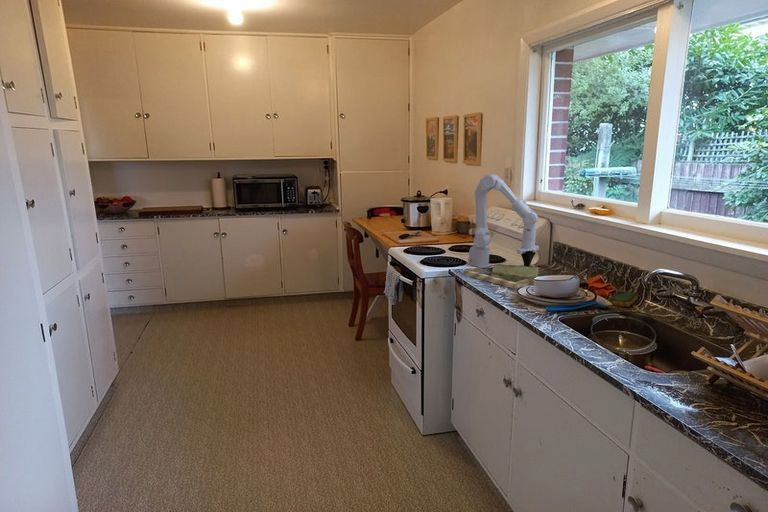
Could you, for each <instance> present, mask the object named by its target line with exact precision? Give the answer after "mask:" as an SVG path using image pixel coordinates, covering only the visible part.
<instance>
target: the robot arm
mask: <svg viewBox="0 0 768 512" xmlns="http://www.w3.org/2000/svg"><path fill="white" fill-rule="evenodd" d="M491 190H494V191H498V192H501V193H502V194H503V196H504V197H505V198H506V199H507V200H508V201H509V202H510V203H511V204H512V205H511V207H512V209H513V211H514V212H515V213H516V214H517V215H518V216H519V217H520V219H522V223H523V227H522V228H523V229H522V243H521V247H520V248H518V249H517V250H516V253H517V255H520V256H521V258H522V262H523V266H526V267H531V263H532V261H533V259H534V257H535V256H536V252H535V251H539V249H540V246H539V245H536V239H537V238H536V236H537V222H538V219H539V216H538V213H537V212H535V211H534V209H532V208H530V206H528V204H527V200H523V198H518V197H517V196H516V194H514V191H512V190H511V188H510V187H509V186H508V185H507V183H506V182H505V181H504V180H503V179H502V178H500V176H499V174H496V173H491V174H486V175H484V176H483V177H482V178H481V179H480V180H479V183H478V185H477V186H476V189H475V190H474V199H475V200H474V202H475V220H476V221H475V222H476V223H475V224H476V229H475V233H474V238H473V246H471V247H470V248H469V250H468V251H469V252H468V263H467V265H469V266H473V267H476V268H477V267H479V268H481V269H484V268H487V267H491V266H493V264H492V263H490V243H491V242H492V237H491V235H490V230H489V228H488V212H487V209H488V208H487V194H488V193H489V192H490V191H491Z"/></svg>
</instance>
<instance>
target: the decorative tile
mask: <svg viewBox="0 0 768 512" xmlns="http://www.w3.org/2000/svg"><path fill="white" fill-rule="evenodd" d="M491 270H492V271H491V275H490V276H492V277H496V278H500V279H503V280H507V281H511V282H518V281H521V280H524V279H528V280H529V283H531V284H532V283H533V280H534V278H536V277H538V278H539V267H534V266H530V267H526V266H524V265H513V264H502V263H496V264H494V265H493V268H492V269H491Z"/></svg>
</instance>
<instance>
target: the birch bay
mask: <svg viewBox="0 0 768 512" xmlns="http://www.w3.org/2000/svg"><path fill="white" fill-rule="evenodd" d="M481 271H482V268H481V267H477V266H476V267H473V268H470V269H465V270H464V271H463V276H466V277H470V278H474V279H478V280H480V281H485V282H488V283H491V284H495V285H496V284H497V285H499V286H503V287H506V288H511V289H513V290H515V289H518V288H522V287H525V286H527V285H530V282H529V280H528V279H524V280H521V281H512V280H505V279H500V278H496V277H492V276H491V275H487V274H484V273H481Z"/></svg>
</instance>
